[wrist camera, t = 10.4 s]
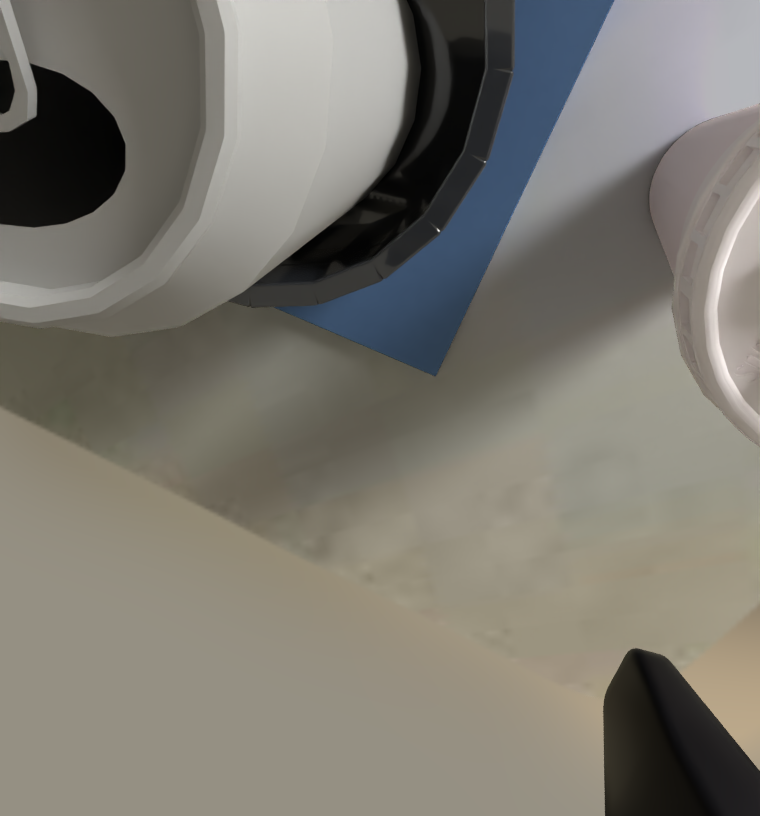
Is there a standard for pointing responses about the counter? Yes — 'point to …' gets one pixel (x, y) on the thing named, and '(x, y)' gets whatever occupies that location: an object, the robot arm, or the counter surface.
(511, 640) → the counter surface
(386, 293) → the napkin
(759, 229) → the smoothie
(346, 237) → the pan
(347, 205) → the can
